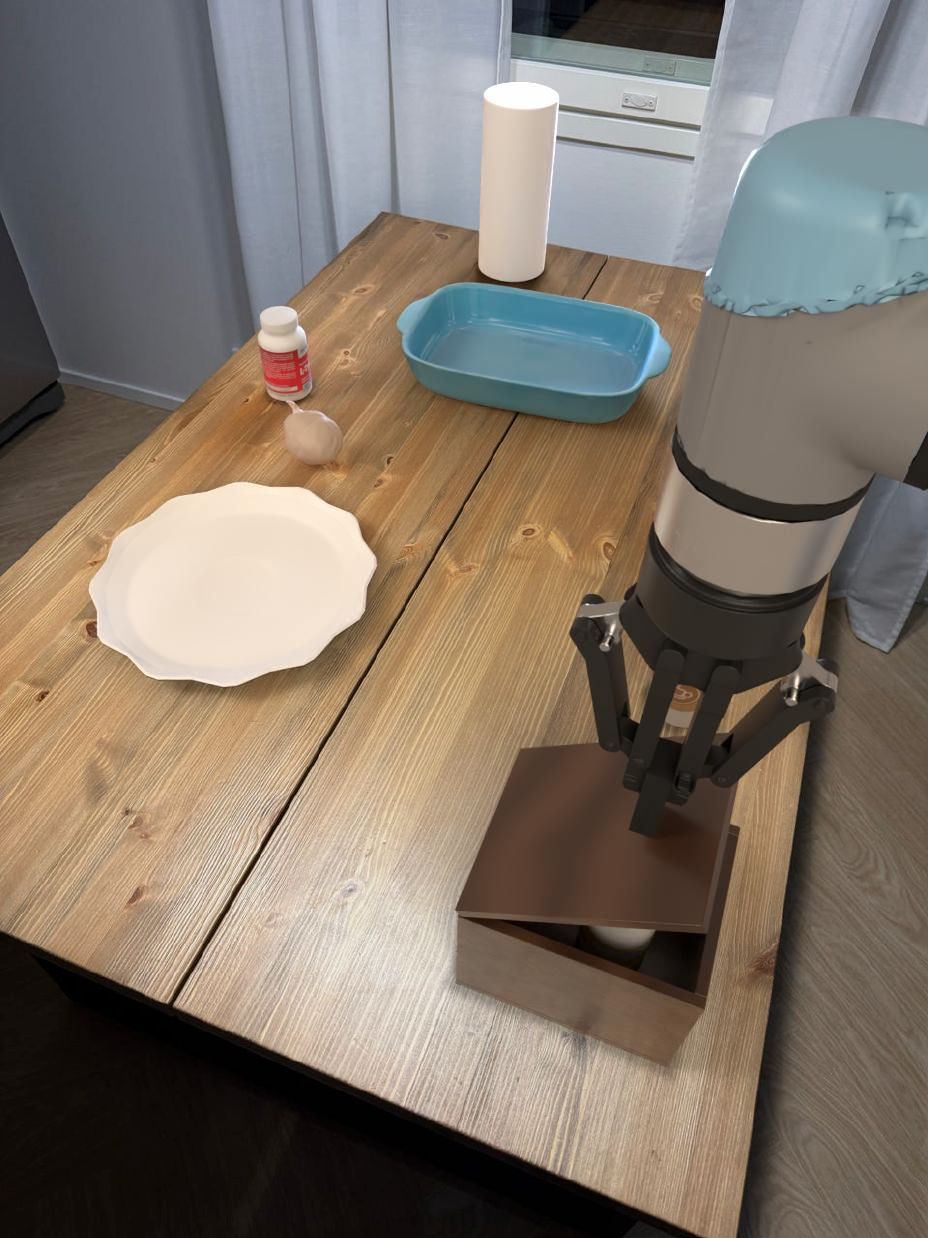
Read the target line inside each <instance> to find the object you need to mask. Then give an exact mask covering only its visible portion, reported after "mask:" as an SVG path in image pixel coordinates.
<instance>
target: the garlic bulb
mask: <svg viewBox="0 0 928 1238" xmlns="http://www.w3.org/2000/svg"><path fill="white" fill-rule="evenodd" d="M286 404H287V405H288V406H289V407H290V408H291V409H292V413H290V414H289V415H287V417H286V418H285V420H284V422H283V426H282V427H283V429H284V447H285V449H286V451H287V452H288V453H289V454H290V455H291V456H292V457H293V458H295V459H296V460H298V461H300V462H302V463H303V464H305V465H308V466H309V465H310V466H317V465H321V466H322V465H323V466H324V465H327V464H329V463H332V462H334V460H336V459H337V457H338V456H339V454H340V452H341V450H342V447H343V441H344V437H343V433H342V431H341V430H342V429H340V426H339V425H337V423H336V422H335V421H334V420H333V419H331V418H330V417H327V415H326V414H324V413H323V412H321V411H319V410H312V409H311V410H303V409H301V407H299V406H298V405H297V403H296V402H295V401H290V400H287V401H286Z"/></svg>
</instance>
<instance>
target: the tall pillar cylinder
mask: <svg viewBox="0 0 928 1238" xmlns="http://www.w3.org/2000/svg"><path fill="white" fill-rule="evenodd" d="M559 104H560V96H559V94H558V93H557V91H556V90H554V89H552V88H550V87H548V86H546V85H543V84H542V85H541V84H538V83H531V82H521V81H519V82H516V81H515V82H505V83H499V84H496V85H492V86H491V87H488V88H487V89H486V90H485V91H484V93H483V97H482V124H481V125H482V127H481V128H482V129H481V160H480V193H479V225H478V226H479V230H478V259H477V261H478V263H477V265H478V269H479V271H480V272H481V273H482V274H483V275H485V276H487V277H489V278H490V279H493V280H496V281H501V282H506V283H507V282H509V283H520V282H526V281H530V280H533V279H535V278H537V277H539V276H540V275H541V274H542V273H543V272H544V270H545V265H546V253H547V244H548V243H547V241H548V230H549V219H550V207H551V197H552V187H553V186H552V185H553V174H554V163H555V150H556V141H557V127H558V117H559V106H560V105H559Z"/></svg>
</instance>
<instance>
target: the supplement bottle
mask: <svg viewBox="0 0 928 1238" xmlns="http://www.w3.org/2000/svg"><path fill="white" fill-rule="evenodd" d="M654 933H655V930H647V929H633V928H619V927H604V926H590V925H580V926H579V930H578V935H577V948H578V950H580V951H583V952H586V953H588V954H591V955H593V956H596V957H599V958H601V959H604V960H607V961H609V962H612V963H615V964H617V965H620V966H623V967H625V968H628V969H631V970H633V971H636V970H637V969H638V968H639V966H640V965H641V963H642V961H643V959H644V957H645V954H646V952H647V950H648V947H649V945H650V942H651V940H652V938H653V935H654Z"/></svg>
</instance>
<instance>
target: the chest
mask: <svg viewBox="0 0 928 1238" xmlns="http://www.w3.org/2000/svg"><path fill="white" fill-rule="evenodd" d="M740 832H741V826H738V825H735V824H733V823H730V826H729V831H728V836H727V841H726V846H725V850H724V855H723V860H722V865H721V870H720V875H719V879H718V884H717V889H716V894H715V899H714V904H713V909H712V913H711V918H710V923H709V928H708V933H707V934H704V933H690V932H675V931H661V930H655V933H654V935H653V938H652V940H651V942H650V945H649V947H648V950H647V952H646V954H645V957H644V959H643V961H642V963H641V965H640V966H639V968H638V969H637V970H636V971H633V970H631V969H628V968H625V967H623V966H620V965H617V964H615V963H612V962H609V961H607V960H604V959H601V958H599V957H596V956H593V955H591V954H588V953H586V952H583V951H580V950H578V948H577V935H578V930H579V926H580V925H576V924H562V923H548V922H533V921H519V920H505V919H491V918H477V917H462V916H460V915H459V914H458V913H457V924H456V925H457V927H456V929H457V931H456V935H457V936H456V966H455V967H456V968H455V969H456V970H455V971H456V972H455V983H456V984H457V985H459V986H462V987H465V988H466V989H469V990H472V991H474V992H477V993H480V994H482V995H485V996H487V997H490V998H493V999H494V1000H497V1001H499V1002H502V1003H505V1004H508V1005H510V1006H512V1007H515V1008H517V1009H520V1010H522V1011H525V1012H526V1013H530V1014H532V1015H535V1016H537V1017H540V1018H542V1019H546V1020H548V1021H550V1022H552V1023H554V1024H558V1025H560V1026H563V1027H565V1028H568V1029H570V1030H573V1031H575V1032H578V1033H580V1034H581V1035H584V1036H588V1037H590V1038H592V1039H595V1040H598V1041H600V1042H603V1043H605V1044H608V1045H610V1046H613V1047H615V1048H617V1049H620V1050H622V1051H625V1052H628V1053H630V1054H632V1055H634V1056H636V1057H637V1056H638V1057H640V1058H643V1059H645V1060H647V1061H650V1062H652V1063H655V1064H658V1065H660V1066H663V1067H666V1068H667V1067H668V1066H669V1064H670V1063H671V1061H672V1059H673V1058H674V1057H675V1055H676V1054H677V1052H678V1051H679V1049H680V1048H681V1046H682V1045H683V1043H684V1042H685V1040H686V1039H687V1037H688V1036H689V1034H690V1033H691V1031H692V1030H693V1028H694V1026H695V1025H696V1024H697V1022H698V1021H699V1019H700V1018H701V1016H702V1015H703V1013H704V1011H705V1010H706V1005H707V1000H708V999H707V998H708V995H709V990H710V985H711V981H712V980H711V979H712V974H713V969H714V965H715V960H716V954H717V949H718V943H719V939H720V935H721V934H720V933H721V928H722V924H723V919H724V913H725V909H726V904H727V898H728V894H729V888H730V883H731V878H732V873H733V868H734V863H735V857H736V853H737V848H738V843H739V837H740Z"/></svg>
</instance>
